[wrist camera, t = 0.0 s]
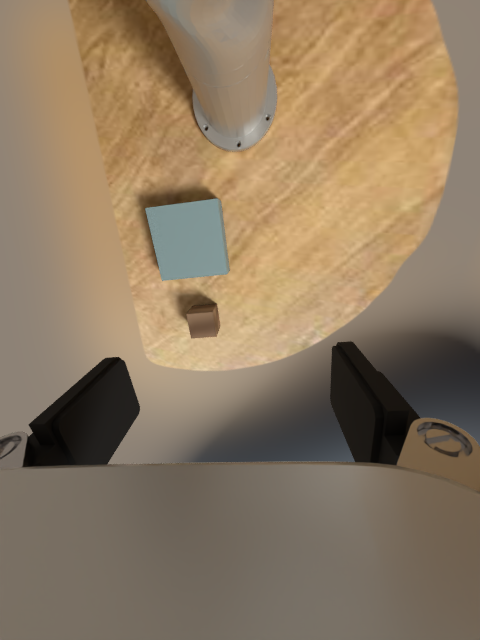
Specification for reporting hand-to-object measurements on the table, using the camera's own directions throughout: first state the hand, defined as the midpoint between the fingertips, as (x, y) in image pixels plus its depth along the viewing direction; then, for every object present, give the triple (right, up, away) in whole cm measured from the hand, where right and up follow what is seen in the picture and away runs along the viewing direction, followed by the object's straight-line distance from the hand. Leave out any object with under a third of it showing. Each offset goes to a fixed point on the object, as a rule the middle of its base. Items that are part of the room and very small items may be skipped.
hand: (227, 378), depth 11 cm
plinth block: (-8, +17, +33) cm, 38 cm away
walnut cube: (-6, +3, +39) cm, 39 cm away
